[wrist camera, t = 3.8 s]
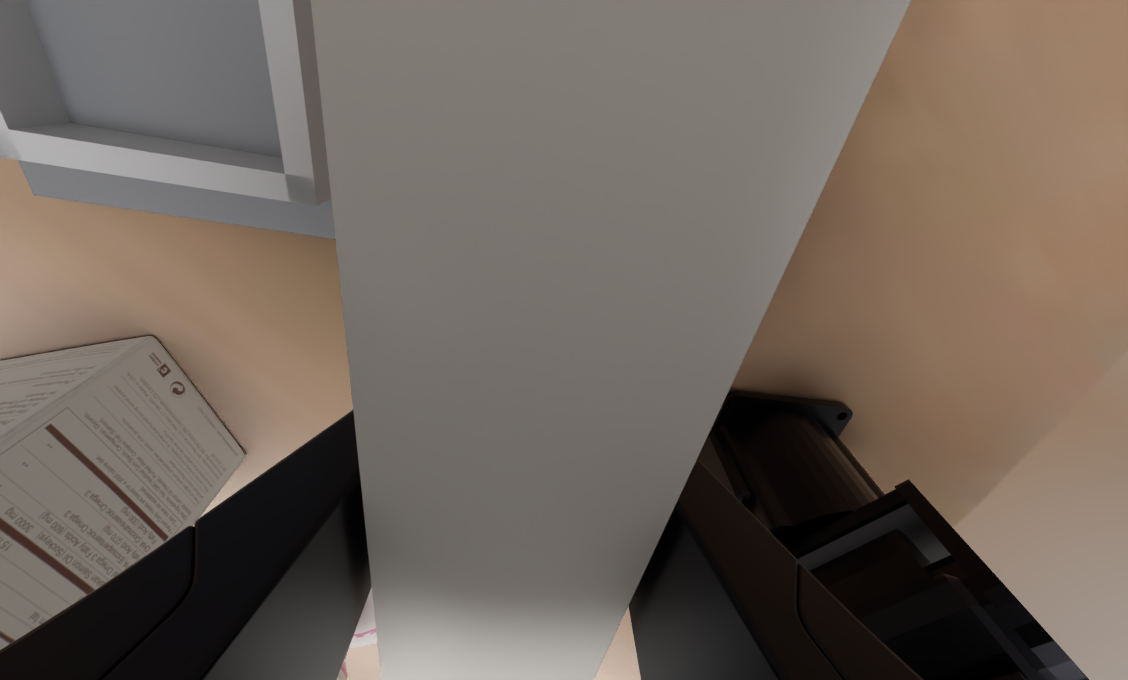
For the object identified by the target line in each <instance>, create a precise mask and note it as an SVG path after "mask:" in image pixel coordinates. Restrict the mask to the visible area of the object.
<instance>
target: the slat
mask: <svg viewBox="0 0 1128 680" xmlns="http://www.w3.org/2000/svg"><path fill="white" fill-rule="evenodd" d="M910 2H911V0H311V8H312V18H313V27H314V37H315V47H316V56H317V66H318V75H319V85H320V95H321V104H322V114H323V124H324V133H325V143H326V152H327V162H328V172H329V181H330V191H331V201H332V210H333V220H334V229H335V239H336V249H337V258H338V268H339V277H340V287H341V297H342V306H343V316H344V326H345V335H346V345H347V354H348V364H349V374H350V383H351V393H352V403H353V412H354V422H355V431H356V441H357V451H358V460H359V470H360V480H361V489H362V499H363V508H364V518H365V528H366V537H367V547H368V556H369V566H370V576H371V585H372V595H373V605H374V614H375V624H376V633H377V643H378V653H379V662H380V672H381V680H594V678H595V676H596V674H597V672H598V670H599V668H600V665H601V663H602V661H603V659H604V657H605V655H606V653H607V650H608V648H609V646H610V644H611V642H612V640H613V638H614V635H615V633H616V631H617V629H618V627H619V625H620V623H621V620H622V618H623V616H624V614H625V612H626V610H627V608H628V605H629V603H630V601H631V599H632V597H633V595H634V593H635V591H636V588H637V586H638V584H639V582H640V580H641V578H642V576H643V573H644V571H645V569H646V567H647V565H648V563H649V561H650V558H651V556H652V554H653V552H654V550H655V548H656V546H657V543H658V541H659V539H660V537H661V535H662V533H663V531H664V528H665V526H666V524H667V522H668V520H669V518H670V516H671V513H672V511H673V509H674V507H675V505H676V503H677V501H678V498H679V496H680V494H681V492H682V490H683V488H684V486H685V483H686V481H687V479H688V477H689V475H690V473H691V471H692V469H693V466H694V464H695V462H696V460H697V458H698V456H699V454H700V451H701V449H702V447H703V445H704V443H705V441H706V439H707V436H708V434H709V432H710V430H711V428H712V426H713V424H714V421H715V419H716V417H717V415H718V413H719V411H720V409H721V406H722V404H723V402H724V400H725V398H726V396H727V394H728V391H729V389H730V387H731V385H732V383H733V381H734V379H735V376H736V374H737V372H738V370H739V368H740V366H741V364H742V361H743V359H744V357H745V355H746V353H747V351H748V349H749V346H750V344H751V342H752V340H753V338H754V336H755V334H756V332H757V329H758V327H759V325H760V323H761V321H762V319H763V317H764V314H765V312H766V310H767V308H768V306H769V304H770V302H771V299H772V297H773V295H774V293H775V291H776V289H777V287H778V284H779V282H780V280H781V278H782V276H783V274H784V272H785V269H786V267H787V265H788V263H789V261H790V259H791V257H792V254H793V252H794V250H795V248H796V246H797V244H798V242H799V239H800V237H801V235H802V233H803V231H804V229H805V227H806V224H807V222H808V220H809V218H810V216H811V214H812V212H813V210H814V207H815V205H816V203H817V201H818V199H819V197H820V195H821V192H822V190H823V188H824V186H825V184H826V182H827V180H828V177H829V175H830V173H831V171H832V169H833V167H834V165H835V162H836V160H837V158H838V156H839V154H840V152H841V150H842V147H843V145H844V143H845V141H846V139H847V137H848V135H849V132H850V130H851V128H852V126H853V124H854V122H855V120H856V117H857V115H858V113H859V111H860V109H861V107H862V105H863V102H864V100H865V98H866V96H867V94H868V92H869V90H870V87H871V85H872V83H873V81H874V79H875V77H876V75H877V73H878V70H879V68H880V66H881V64H882V62H883V60H884V58H885V55H886V53H887V51H888V49H889V47H890V45H891V43H892V40H893V38H894V36H895V34H896V32H897V30H898V28H899V25H900V23H901V21H902V19H903V17H904V15H905V13H906V10H907V8H908V6H909V4H910Z"/></svg>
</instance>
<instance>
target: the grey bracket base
mask: <svg viewBox="0 0 1128 680" xmlns="http://www.w3.org/2000/svg"><path fill="white" fill-rule="evenodd" d="M0 157H2V158H9V159H15V160H18V161H19V164H20V166H21V168H22V170H23V173H24V175H25V177H26V179H27V181H28V184H29V186H30V188H31V190H32V193H33V195H36V196H43V197H50V198H56V199H63V200H70V201H77V202H84V203H91V204H97V205H104V206H111V207H118V208H125V209H132V210H138V211H145V212H152V213H159V214H166V215H173V216H179V217H186V218H193V219H200V220H207V221H214V222H221V223H227V224H234V225H241V226H248V227H255V228H262V229H268V230H275V231H282V232H289V233H296V234H303V235H309V236H316V237H323V238H330V239H335V229H334V220H333V210H332V201H331V191H330V181H329V172H328V162H327V152H326V143H325V133H324V124H323V114H322V104H321V95H320V85H319V75H318V66H317V56H316V47H315V37H314V27H313V18H312V8H311V0H0Z"/></svg>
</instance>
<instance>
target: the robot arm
mask: <svg viewBox="0 0 1128 680" xmlns="http://www.w3.org/2000/svg"><path fill="white" fill-rule="evenodd" d="M734 400H736V401H735V402H733V403H731V402H732V401H734ZM852 415H853V413H852V411H851V410H850V409H849V407H848V406H847V405H846V404H843V403H837V402H829V401H820V400H812V399H803V398H795V397H786V396H778V395H769V394H761V393H752V392H744V391H730V392H728V394H727V396H726V398H725V400H724V402H723V404H722V406H721V409H720V411H719V413H718V415H717V417H716V419H715V421H714V424H713V426H712V428H711V430H710V432H709V434H708V436H707V439H706V441H705V443H704V445H703V447H702V449H701V451H700V454H699V456H698V458H697V460H696V462H695V464H694V466H693V469H692V471H691V473H690V475H689V477H688V479H687V481H686V483H685V486H684V488H683V490H682V492H681V494H680V496H679V498H678V501H677V503H676V505H675V507H674V509H673V511H672V513H671V516H670V518H669V520H668V522H667V524H666V526H665V528H664V531H663V533H662V535H661V537H660V539H659V541H658V543H657V546H656V548H655V550H654V552H653V554H652V556H651V558H650V561H649V563H648V565H647V567H646V569H645V571H644V573H643V576H642V578H641V580H640V582H639V584H638V586H637V588H636V591H635V593H634V595H633V597H632V599H631V601H630V603H629V611H630V617H631V623H632V629H633V634H634V640H635V646H636V652H637V658H638V664H639V670H640V675H641V680H1089V679H1088V678H1087V677H1086V676H1085V674H1084V673H1083V672H1082V671H1081V670H1080V669H1079V668H1078V667H1077V665H1075V663H1074V662H1073V661H1072V660H1071V659H1070V658H1069V656H1068V655H1067V654H1066V653H1065V652H1064V651H1063V650H1062V649H1061V648H1060V646H1059V645H1058V644H1057V643H1056V642H1055V641H1054V640H1053V639H1052V638H1051V636H1050V635H1049V634H1048V633H1047V632H1046V631H1045V630H1044V629H1043V627H1041V625H1040V624H1039V623H1038V622H1037V621H1036V620H1035V619H1034V618H1033V616H1032V615H1031V614H1030V613H1029V612H1028V611H1027V610H1026V608H1025V607H1024V606H1023V605H1022V604H1021V603H1020V602H1019V601H1018V600H1017V599H1016V597H1015V596H1014V595H1013V594H1012V593H1011V592H1010V591H1009V590H1008V589H1007V587H1006V586H1005V585H1004V584H1003V583H1002V582H1001V581H1000V580H999V579H998V577H996V575H995V574H994V573H993V572H992V571H991V570H990V569H989V568H988V567H987V565H986V564H985V563H984V562H983V561H982V560H981V559H980V558H979V557H978V555H977V554H976V553H975V552H974V551H973V550H972V549H971V548H970V547H969V545H968V544H967V543H966V542H965V541H964V540H963V539H962V538H961V537H960V536H959V535H958V533H957V532H956V531H955V530H954V529H953V528H952V527H951V526H950V525H949V523H948V522H947V521H946V520H945V519H944V518H943V517H942V516H941V515H940V514H939V512H938V511H937V510H936V509H935V508H934V507H933V506H932V505H931V504H930V503H929V501H928V500H927V499H926V498H925V497H924V496H923V495H922V494H921V493H920V492H919V490H918V489H917V488H916V487H915V486H914V485H913V484H912V483H911V482H910V480H909V479H908V480H906V481H904V482H902V483H900V484H899V485H897V486H895V488H896V489H895V490H893V491H891V492H889V493H887V494H886V495H885V494H884V493H883V492H882V491H881V489H880V488H879V487H878V486H877V484H876V483H875V482H874V481H873V480H872V478H871V477H870V476H869V475H868V473H867V472H866V471H865V470H864V468H863V467H862V466H861V465H860V464H859V462H858V461H857V460H856V459H855V457H854V456H853V455H852V454H851V452H850V451H849V450H848V449H847V448H846V446H845V445H844V444H843V443H842V441H841V440H840V439H839V438H838V436H839V435H840V433H841V432H842V430H843V429H844V428H845V426H846V425H847V423H848V422H849V420H850V419H851V417H852ZM371 588H372V585H371V576H370V566H369V556H368V547H367V537H366V528H365V518H364V508H363V499H362V489H361V480H360V470H359V460H358V451H357V441H356V431H355V422H354V412H353V410H352V411H351V412H349V413H348V414H347V415H345V416H344V417H342V418H341V419H340V420H338V421H337V422H335V423H334V424H332V425H331V426H330V427H328V428H327V429H325V430H324V431H322V432H321V433H320V434H318V435H317V436H315V437H314V438H313V439H311V440H310V441H308V442H307V443H305V444H304V445H303V446H301V447H300V448H298V449H297V450H296V451H294V452H293V453H291V454H290V455H288V456H287V457H286V458H284V459H283V460H281V461H280V462H278V463H277V464H276V465H274V466H273V467H271V468H270V469H269V470H267V471H266V472H264V473H263V474H261V475H260V476H259V477H257V478H256V479H254V480H253V481H252V482H250V483H249V484H247V485H246V486H244V487H243V488H242V489H240V490H239V491H237V492H236V493H235V494H233V495H232V496H230V497H229V498H227V499H226V500H225V501H223V502H222V503H220V504H219V505H217V506H216V507H215V508H213V509H212V510H210V511H209V512H208V513H206V514H205V515H203V516H202V517H200V518H199V519H198V520H196V522H195V526H187V527H186V528H184V529H183V530H182V531H180V532H179V533H177V534H176V535H175V536H173V537H172V538H170V539H169V540H167V541H166V542H165V543H163V544H162V545H160V546H159V547H157V548H156V549H155V550H153V551H152V552H150V553H149V554H147V555H146V556H144V557H143V558H141V559H140V560H138V561H137V562H135V563H134V564H133V565H131V566H130V567H128V568H127V569H125V570H124V571H122V572H121V573H119V574H118V575H116V576H115V577H113V578H112V579H110V580H109V581H108V582H106V583H105V584H103V585H102V586H100V587H99V588H97V589H96V590H94V591H92V592H91V593H89V594H88V595H86V596H85V597H83V598H81V599H80V600H78V601H77V602H75V603H74V604H72V605H70V606H69V607H67V608H66V609H64V610H63V611H61V612H59V613H58V614H56V615H55V616H53V617H52V618H50V619H48V620H47V621H45V622H44V623H42V624H41V625H39V626H37V627H36V628H34V629H33V630H31V631H30V632H28V633H26V634H25V635H23V636H22V637H20V638H18V639H17V640H15V641H14V642H12V643H10V644H9V645H7V646H6V647H4V648H2V649H1V650H0V680H337V677H338V674H339V672H340V669H341V666H342V664H343V661H344V659H345V656H346V653H347V651H348V648H349V645H350V643H351V640H352V638H353V635H354V632H355V630H356V627H357V624H358V622H359V619H360V616H361V614H362V611H363V609H364V606H365V603H366V601H367V598H368V595H369V593H370V590H371Z"/></svg>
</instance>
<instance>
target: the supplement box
mask: <svg viewBox="0 0 1128 680" xmlns="http://www.w3.org/2000/svg"><path fill="white" fill-rule="evenodd" d="M244 458H245V455H244V454H243V451H242V449H241V448H240V447H239V446H238V444H237V443H236V441H235V440H234V438H233V437H232V436H231V434H230V433H229V432H228V430H227V429H226V428H225V427H224V425H223V424H222V422H221V421H220V420H219V419H218V417H217V416H216V415H215V413H214V412H213V411H212V410H211V408H210V407H209V405H208V404H207V403H206V401H205V400H204V399H203V398H202V396H201V395H200V394H199V392H198V391H197V390H196V388H195V387H194V386H193V385H192V383H191V382H190V380H189V379H188V378H187V377H186V375H185V374H184V373H183V372H182V370H181V369H180V368H179V366H178V365H177V364H176V363H175V361H174V360H173V359H172V358H171V356H170V355H169V354H168V352H167V351H166V350H165V349H164V347H163V346H162V345H161V344H160V343H159V341H158V340H157V339H156V338H154V337H153V336H145V337H139V338H133V339H127V340H120V341H114V342H108V343H102V344H96V345H90V346H84V347H78V348H73V349H67V350H61V351H55V352H49V353H43V354H37V355H32V356H26V357H20V358H14V359H8V360H2V361H0V650H1V649H2V648H4V647H6V646H7V645H9V644H10V643H12V642H14V641H15V640H17V639H18V638H20V637H22V636H23V635H25V634H26V633H28V632H30V631H31V630H33V629H34V628H36V627H37V626H39V625H41V624H42V623H44V622H45V621H47V620H48V619H50V618H52V617H53V616H55V615H56V614H58V613H59V612H61V611H63V610H64V609H66V608H67V607H69V606H70V605H72V604H74V603H75V602H77V601H78V600H80V599H81V598H83V597H85V596H86V595H88V594H89V593H91V592H92V591H94V590H96V589H97V588H99V587H100V586H102V585H103V584H105V583H106V582H108V581H109V580H110V579H112V578H113V577H115V576H116V575H118V574H119V573H121V572H122V571H124V570H125V569H127V568H128V567H130V566H131V565H133V564H134V563H135V562H137V561H138V560H140V559H141V558H143V557H144V556H146V555H147V554H149V553H150V552H152V551H153V550H155V549H156V548H157V547H159V546H160V545H162V544H163V543H165V542H166V541H167V540H169V539H170V538H172V537H173V536H175V535H176V534H177V533H179V532H180V531H182V530H183V529H184V528H186V527H187V526H193V525H194V524H195V522H196V520H198V519H199V517H200V516H201V515H202V513H203V512H204V511H205V510H206V508H207V507H208V506H209V504H210V503H211V502H212V500H213V499H214V498H215V497H216V495H217V494H218V493H219V491H220V490H221V489H222V487H223V486H224V485H225V483H226V482H227V481H228V479H229V478H230V477H231V475H232V474H233V473H234V472H235V470H236V469H237V468H238V467H239V465H240V464H241V462H242V461H243V460H244Z"/></svg>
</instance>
